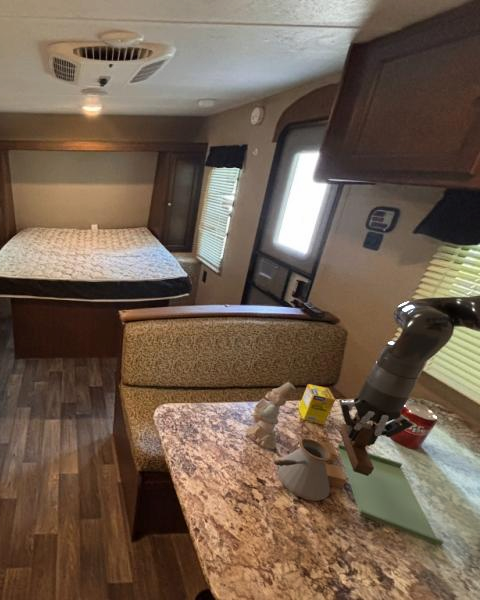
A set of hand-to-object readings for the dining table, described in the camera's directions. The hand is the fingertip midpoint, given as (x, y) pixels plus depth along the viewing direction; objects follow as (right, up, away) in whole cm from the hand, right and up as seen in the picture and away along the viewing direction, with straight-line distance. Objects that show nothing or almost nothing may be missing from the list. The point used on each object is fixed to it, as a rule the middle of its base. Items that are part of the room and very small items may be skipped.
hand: (358, 440), depth 78 cm
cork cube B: (-5, -12, +4) cm, 14 cm away
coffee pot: (-18, -13, +1) cm, 22 cm away
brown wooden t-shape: (0, -4, +2) cm, 4 cm away
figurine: (-15, -7, +16) cm, 23 cm away
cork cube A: (-1, -10, +11) cm, 14 cm away
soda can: (+28, -8, +17) cm, 34 cm away
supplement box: (+6, -4, +25) cm, 26 cm away
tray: (+7, -14, +2) cm, 15 cm away
